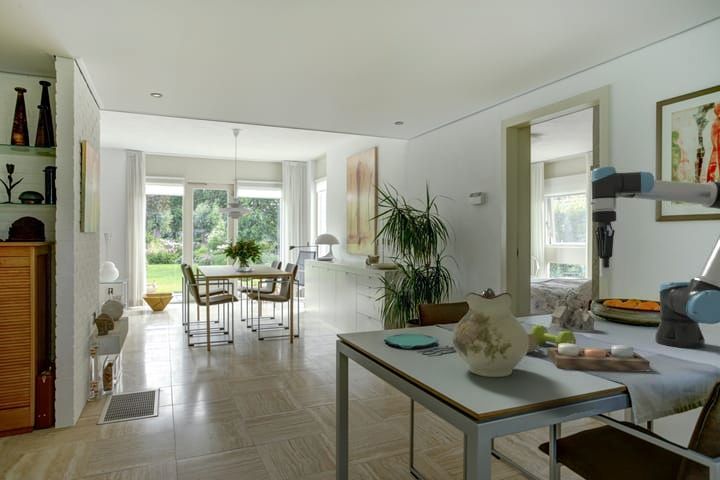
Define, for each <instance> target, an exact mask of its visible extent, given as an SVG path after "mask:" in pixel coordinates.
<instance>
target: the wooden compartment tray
mask: <svg viewBox="0 0 720 480" xmlns="http://www.w3.org/2000/svg"><path fill="white" fill-rule="evenodd" d="M546 349H547V353H546V354H547V357H548V359H549V360H550V361H551V362H552V363H553V365H554V366H555V367H556V368H557V369H579V370H602V371H603V370H604V371H625V370H651V369H650V362H651V361H650V360H648V359H646V358H644V357H643V356H641V355H640V354H638V353H636V352H635V351H633V358H618V357H613V356H612V353H611V348H610V349H609V348H608V349H606V348H602V349H603V350H605V351H606V357H589V356H585V348H579V356H560V355H559V354H558V347H547V348H546Z"/></svg>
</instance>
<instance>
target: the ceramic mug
mask: <svg viewBox="0 0 720 480" xmlns="http://www.w3.org/2000/svg"><path fill="white" fill-rule="evenodd" d="M526 332H527V334H528V337H529V347H528V351H527V353H526V354H531V353H533V352H534V351H535V350H537V351H539V349H540V348H541V345H537V339H536V337H535V336H534V335H533V334H531V333H530V331H526Z"/></svg>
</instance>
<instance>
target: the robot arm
mask: <svg viewBox="0 0 720 480" xmlns="http://www.w3.org/2000/svg"><path fill="white" fill-rule="evenodd" d="M590 182H591V197H592V198H591V201H590V205H592V208H591V209H592V211H593V212H591V217H592V220H591V221H592V222H593V223H597V227H596V230H595V231H594V234H595V241H596V251H597V256H598V257H599V267H600V268H599V272H600V277H601V278H610V277H611V262H610V261H611V258H612V257H613V251H614V236H615V232H616V231H615V229H613V227H612V222H616V221H617V212H616V211H615V210H617V198H627V199H628V198H629V199H637V200H638V199H641V200H650V201H653V200H654V201H662V202H673V203H674V202H675V203H684V204H685V203H686V204H694V205H695V204H697V205H701V206H702V207H704V208H709V209H710V208H711V209H717V210H718V209H719V210H720V181H707V182H706V183H698V182H697V183H696V182H687V181H685V182H684V181H673V180H660V179H659V180H657V179H655V177H654V175H653V173H652V172H650V171H635V172H634V171H632V172H617V171H616V167H615V166H602V167H596V168H594V169H593V170H592V172H591V181H590ZM659 286H660V287H659V311H660V314H659V315H660V322H659V325H658V327H657V330H656V333H655V340H654V341H655V342H656V343H657V344H660V345H661V344H662V345H666V346H670V347H675V348H676V347H678V348H689V349H690V348H691V349H692V348H693V349H698V348H703V347H705V346H706V342H705V341H706V340H705V337H704V335H703V332H702V329H701V327H700V325H699V324H706V325H715V324H719V323H720V234H719V235H718V236H717V239H716V241H715V242H714V245H713V247H712V250H711V251H710V253H709V255H708V257H707V259H706V262H705V263H704V265H703V267H702V269H701V271H700V273H699V275H697V276H696V277H692V278H691V279H690V281H688V282H687V281H685V282H684V281H681V282H680V281H679V282H662V283H661V284H660V285H659Z"/></svg>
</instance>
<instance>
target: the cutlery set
mask: <svg viewBox="0 0 720 480" xmlns="http://www.w3.org/2000/svg"><path fill="white" fill-rule="evenodd" d="M383 342H384V343H387V344H388V345H391V346H395V347H401V348H402V349H405V350H406V349H407V350H411V349H413V348H426V347H427V349H420V350H417V351H416V353H417V354H419V353H421V354H423V355H425V354H426V356H427V357H429V358H432V357H437V356H438V357H439V356H441V355H444V354H452V353H457V352H456V350H455V347H454V345H453V346H452V345H451V346H449V345H445V346H444V345H443V346H439V347H437V346H435V347H431V348H428V347H429V346H432V345H434V344H439V339H438V338H435V337H433V336H430V335H425V334H423V333H414V332H413V333H411V332H410V333H409V332H408V333H401V334H395V335H388V336H386V337H385V339H383ZM446 350H447V351H446ZM448 350H449V351H448Z"/></svg>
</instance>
